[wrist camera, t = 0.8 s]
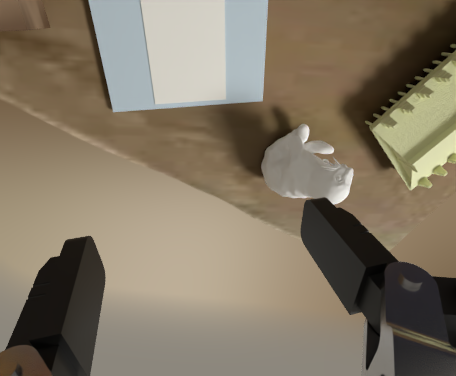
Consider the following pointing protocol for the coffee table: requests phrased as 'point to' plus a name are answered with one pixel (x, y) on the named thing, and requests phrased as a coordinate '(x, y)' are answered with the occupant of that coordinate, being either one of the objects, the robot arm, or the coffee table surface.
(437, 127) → the spiky scrub brush
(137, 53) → the board
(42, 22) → the walnut pedestal
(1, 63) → the coffee table surface
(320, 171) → the white rounded figure
